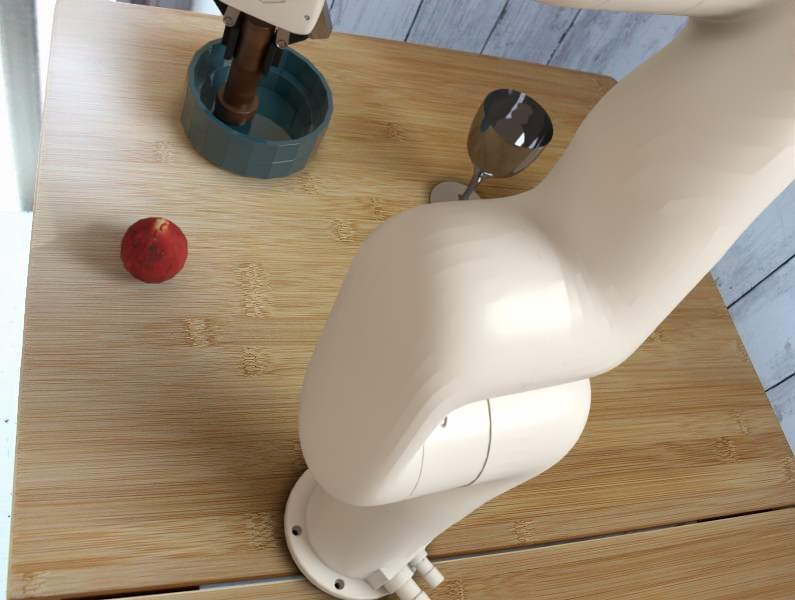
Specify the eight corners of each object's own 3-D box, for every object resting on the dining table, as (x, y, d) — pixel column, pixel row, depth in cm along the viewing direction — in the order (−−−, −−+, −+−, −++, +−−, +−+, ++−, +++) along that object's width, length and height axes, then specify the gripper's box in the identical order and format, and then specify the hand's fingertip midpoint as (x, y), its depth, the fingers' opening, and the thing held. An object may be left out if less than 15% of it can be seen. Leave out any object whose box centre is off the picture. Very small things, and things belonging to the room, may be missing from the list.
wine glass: (415, 182, 96) (470, 90, 84) (471, 175, 100) (531, 86, 88) (444, 239, 93) (505, 152, 81) (500, 229, 97) (566, 144, 85)
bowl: (344, 152, 94) (361, 116, 89) (238, 202, 85) (250, 165, 81) (261, 60, 97) (273, 20, 92) (150, 99, 88) (157, 57, 83)
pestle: (263, 118, 91) (293, 26, 80) (230, 131, 88) (257, 37, 78) (238, 90, 91) (265, -5, 81) (205, 102, 89) (229, 6, 79)
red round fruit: (168, 308, 76) (181, 260, 70) (106, 285, 75) (114, 235, 69) (189, 260, 80) (204, 210, 73) (131, 237, 79) (140, 185, 72)
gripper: (185, -126, 66) (156, 49, 80) (378, -37, 69) (316, 116, 83) (215, -169, 70) (182, 4, 85) (395, -84, 73) (334, 69, 88)
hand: (249, 58), depth 84 cm, fingers closed on pestle, 3 cm apart
